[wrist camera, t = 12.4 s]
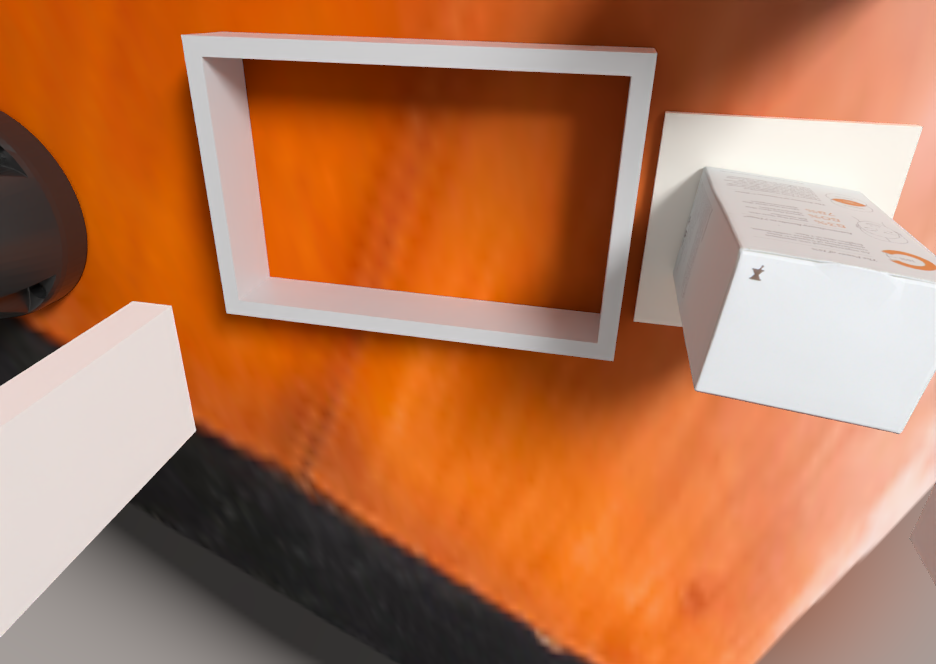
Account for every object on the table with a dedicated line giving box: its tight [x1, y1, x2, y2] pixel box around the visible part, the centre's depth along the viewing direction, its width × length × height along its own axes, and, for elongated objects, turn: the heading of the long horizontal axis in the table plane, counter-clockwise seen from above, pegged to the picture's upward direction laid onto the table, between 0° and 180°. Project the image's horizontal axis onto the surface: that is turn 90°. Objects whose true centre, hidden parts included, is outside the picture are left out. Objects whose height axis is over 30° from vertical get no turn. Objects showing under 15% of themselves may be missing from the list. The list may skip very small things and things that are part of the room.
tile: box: [634, 111, 923, 327], centre depth 35 cm, size 12×12×1 cm
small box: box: [673, 166, 936, 434], centre depth 30 cm, size 8×6×13 cm
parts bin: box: [181, 32, 657, 361], centre depth 37 cm, size 24×16×4 cm, turn 88°
